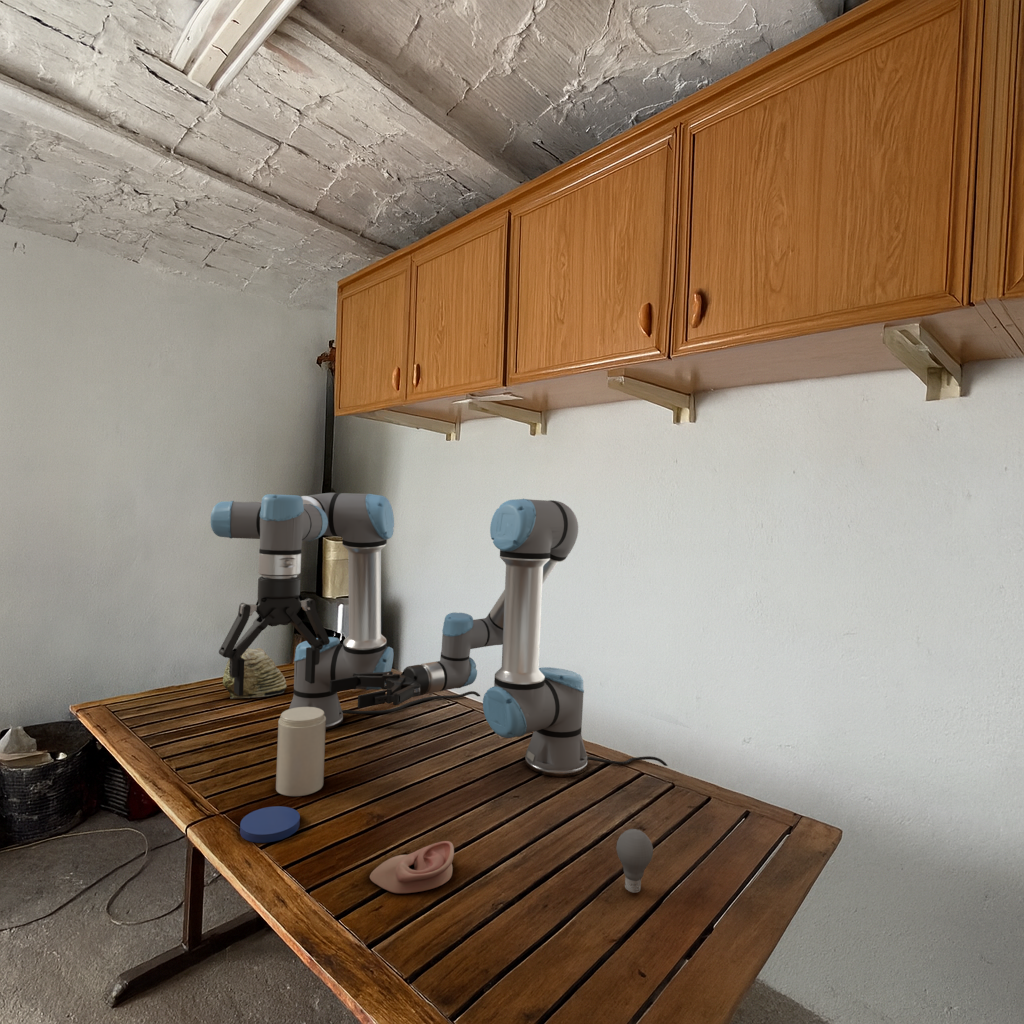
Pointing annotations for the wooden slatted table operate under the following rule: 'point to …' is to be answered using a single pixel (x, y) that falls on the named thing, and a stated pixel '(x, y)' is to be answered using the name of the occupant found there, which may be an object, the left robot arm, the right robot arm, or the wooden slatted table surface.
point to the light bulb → (634, 857)
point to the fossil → (256, 676)
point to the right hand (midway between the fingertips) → (343, 694)
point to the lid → (269, 824)
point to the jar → (300, 751)
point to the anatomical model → (416, 869)
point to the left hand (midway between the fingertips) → (275, 687)
